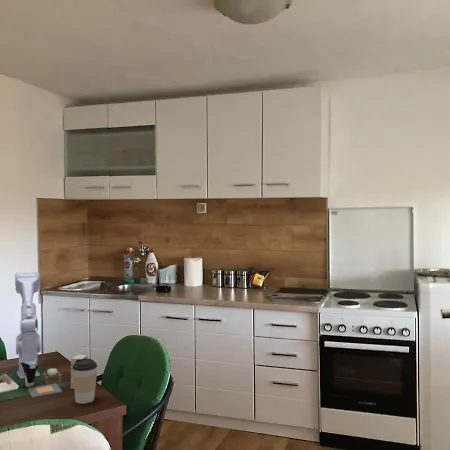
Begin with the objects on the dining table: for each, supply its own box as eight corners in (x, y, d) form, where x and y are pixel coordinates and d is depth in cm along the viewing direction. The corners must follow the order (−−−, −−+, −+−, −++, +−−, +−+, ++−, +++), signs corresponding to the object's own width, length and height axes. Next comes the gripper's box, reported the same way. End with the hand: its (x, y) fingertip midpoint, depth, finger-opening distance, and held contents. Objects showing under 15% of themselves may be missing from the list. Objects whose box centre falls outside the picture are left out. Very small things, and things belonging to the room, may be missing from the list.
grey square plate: (27, 389, 199) (27, 387, 199) (56, 384, 204) (56, 383, 204) (32, 397, 190) (32, 396, 190) (62, 392, 196) (62, 390, 196)
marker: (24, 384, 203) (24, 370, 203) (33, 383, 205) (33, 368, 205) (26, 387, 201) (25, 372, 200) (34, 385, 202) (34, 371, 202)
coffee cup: (102, 397, 191) (101, 358, 191) (88, 406, 183) (88, 365, 182) (81, 394, 194) (81, 355, 194) (67, 402, 186) (67, 362, 185)
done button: (46, 376, 209) (46, 369, 209) (55, 374, 211) (55, 367, 211) (48, 379, 206) (48, 371, 206) (57, 377, 208) (57, 370, 208)
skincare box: (80, 390, 199) (80, 359, 198) (70, 389, 200) (70, 358, 199) (88, 384, 205) (88, 354, 205) (78, 383, 206) (78, 354, 205)
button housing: (43, 380, 209) (43, 373, 209) (57, 377, 212) (57, 370, 212) (46, 384, 204) (46, 377, 204) (61, 382, 207) (61, 375, 207)
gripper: (15, 344, 206) (16, 377, 207) (21, 353, 194) (22, 388, 195) (33, 342, 210) (34, 374, 211) (41, 351, 198) (41, 385, 198)
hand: (29, 381), depth 203 cm, fingers closed on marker, 3 cm apart
